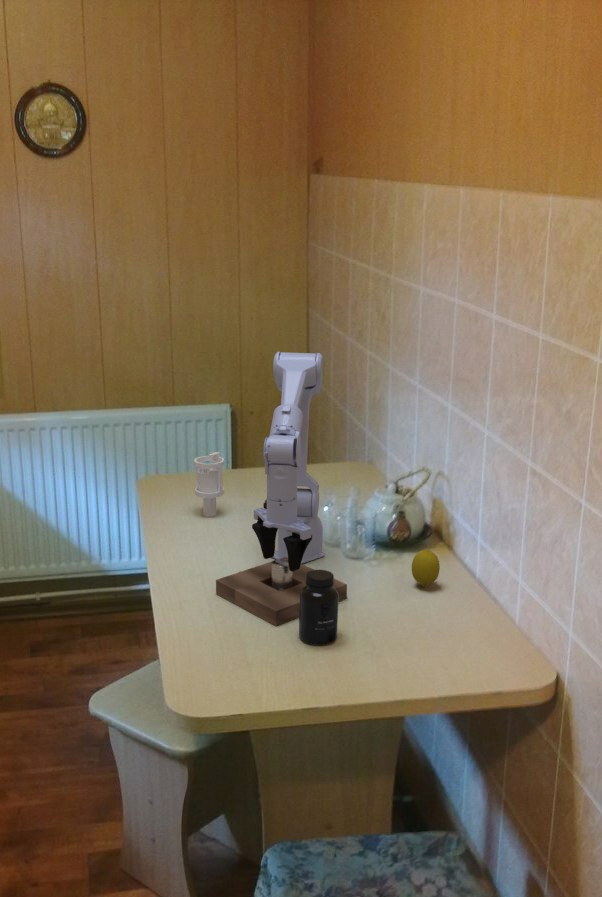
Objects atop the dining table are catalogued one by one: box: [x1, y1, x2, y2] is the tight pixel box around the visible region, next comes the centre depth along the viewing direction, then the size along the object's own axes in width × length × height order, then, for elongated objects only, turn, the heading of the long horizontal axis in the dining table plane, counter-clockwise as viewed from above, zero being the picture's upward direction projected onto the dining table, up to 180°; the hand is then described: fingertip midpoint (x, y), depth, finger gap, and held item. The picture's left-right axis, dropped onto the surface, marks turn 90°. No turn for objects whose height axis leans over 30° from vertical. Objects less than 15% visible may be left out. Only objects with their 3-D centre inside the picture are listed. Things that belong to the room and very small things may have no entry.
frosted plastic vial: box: [271, 559, 292, 591], centre depth 180 cm, size 4×4×7 cm
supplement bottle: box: [298, 569, 340, 646], centre depth 163 cm, size 7×7×12 cm
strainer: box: [193, 451, 225, 518], centre depth 223 cm, size 7×7×15 cm
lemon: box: [411, 548, 440, 587], centre depth 185 cm, size 6×6×8 cm
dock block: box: [215, 557, 348, 627], centre depth 180 cm, size 18×18×3 cm
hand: (281, 563), depth 179 cm, fingers open, 7 cm apart
